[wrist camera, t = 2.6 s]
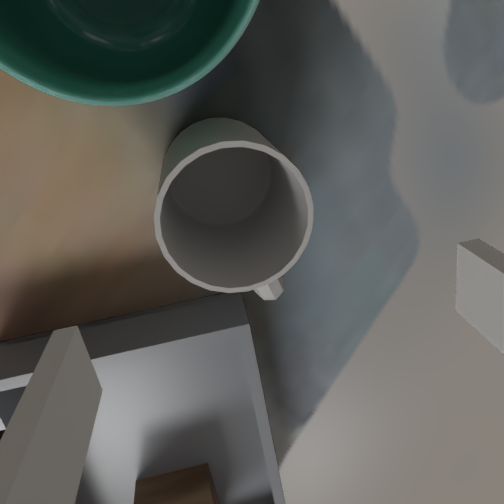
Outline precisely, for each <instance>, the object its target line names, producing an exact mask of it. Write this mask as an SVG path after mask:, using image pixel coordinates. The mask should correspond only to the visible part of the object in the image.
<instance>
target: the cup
mask: <svg viewBox="0 0 504 504" xmlns="http://www.w3.org/2000/svg"><path fill="white" fill-rule="evenodd" d="M313 210H314V206H313V202H312V198H311V194H310V190H309V187H308V185H307V183H306V181H305V180H304V178H303V176H302V174H301V173H300V171H299V170H298V169H297V168H296V167H295V166H294V165H293V164H292V163H291V162H290V161H289V160H288V159H287V158H286V157H285V156H284V155H283V154H282V153H281V152H280V151H279V150H278V149H277V148H276V147H274V146H273V145H272V144H271V143H270V142H269V141H268V140H267V139H266V138H265V137H264V136H262V135H261V134H260V133H259V132H258V131H257V130H256V129H254V128H252V127H251V126H249V125H247V124H245V123H243V122H241V121H238V120H234V119H229V118H225V117H223V118H208V119H205V120H202V121H199V122H196V123H193V124H192V125H190V126H189V127H187V128H186V129H184V130H183V131H181V132H180V134H179V135H178V136H177V137H176V138H175V139H174V140H173V142H172V143H171V144H170V146H169V148H168V150H167V153H166V155H165V157H164V159H163V164H162V170H161V176H160V182H159V188H158V194H157V200H156V206H155V212H154V225H155V234H156V239H157V241H158V244H159V246H160V249H161V251H162V253H163V256H164V257H165V258H166V260H167V261H168V262H169V263H170V265H171V266H172V267H173V269H174V270H175V271H176V272H177V273H179V274H180V275H181V276H183V277H184V278H185V279H187V280H188V281H189V282H191V283H193V284H195V285H198V286H200V287H203V288H205V289H208V290H211V291H218V292H225V293H235V292H246V291H251V290H254V291H255V292H256V293H257V294H258V295H259V296H260V297H261V298H262V299H263V300H276V299H277V298H278V297H279V296H280V295H281V293H282V292H283V291H284V289H283V278H282V275H284V274H285V273H286V272H287V271H288V270H289V269H290V268H291V267H292V266H293V265H294V264H295V263H296V262H297V261H298V259H299V257H300V256H301V254H302V253H303V251H304V249H305V248H306V246H307V244H308V241H309V237H310V234H311V231H312V228H313Z"/></svg>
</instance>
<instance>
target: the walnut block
mask: <svg viewBox="0 0 504 504" xmlns="http://www.w3.org/2000/svg"><path fill="white" fill-rule="evenodd" d="M133 504H220V503H219V499H218V496H217V493H216V489H215V486H214V482H213V479H212V475H211V472H210V469H209V465H208V463H206V464H202V465H197V466H193V467H189V468H185V469H181V470H177V471H173V472H169V473H165V474H161V475H157V476H153V477H149V478H145V479H141V480H136V484H135V494H134V503H133Z"/></svg>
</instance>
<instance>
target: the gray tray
mask: <svg viewBox="0 0 504 504" xmlns="http://www.w3.org/2000/svg"><path fill="white" fill-rule="evenodd" d="M77 326H78V328H79V331H80V334H81V336H82V339H83V341H84V344H85V346H86V349H87V351H88V354H89V357H90V359H91V362H92V364H93V367H94V369H95V372H96V374H97V377H98V380H99V382H100V385H101V387H102V390H103V391H102V395H101V399H100V403H99V407H98V411H97V415H96V419H95V423H94V427H93V431H92V435H91V439H90V443H89V447H88V451H87V455H86V460H85V464H84V468H83V472H82V476H81V480H80V484H79V488H78V492H77V496H76V500H75V504H133V503H134V494H135V484H136V480H141V479H145V478H149V477H153V476H157V475H161V474H165V473H169V472H173V471H177V470H181V469H185V468H189V467H193V466H197V465H202V464H206V463H208V465H209V469H210V472H211V475H212V479H213V482H214V486H215V489H216V493H217V496H218V499H219V503H220V504H285V500H284V495H283V490H282V485H281V480H280V475H279V470H278V465H277V460H276V455H275V450H274V445H273V440H272V435H271V430H270V425H269V420H268V415H267V410H266V405H265V400H264V395H263V390H262V385H261V380H260V375H259V370H258V365H257V360H256V355H255V350H254V345H253V340H252V335H251V330H250V325H249V321H248V317H247V313H246V309H245V305H244V302H243V298H242V294H241V292H235V293H222V294H218V295H213V296H209V297H204V298H199V299H195V300H190V301H186V302H181V303H177V304H172V305H168V306H163V307H159V308H154V309H149V310H145V311H140V312H136V313H131V314H127V315H122V316H118V317H113V318H109V319H104V320H99V321H95V322H90V323H86V324H81V325H77ZM52 333H53V331H49V332H45V333H40V334H36V335H31V336H27V337H22V338H18V339H13V340H9V341H4V342H0V431H1V430H6V428H7V426H8V424H9V422H10V419H11V417H12V415H13V413H14V411H15V409H16V407H17V405H18V403H19V401H20V399H21V397H22V395H23V393H24V391H25V389H26V387H27V384H28V382H29V380H30V378H31V376H32V374H33V372H34V370H35V368H36V366H37V364H38V362H39V360H40V358H41V356H42V354H43V352H44V350H45V347H46V345H47V343H48V341H49V339H50V337H51V335H52Z"/></svg>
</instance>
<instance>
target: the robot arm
mask: <svg viewBox="0 0 504 504" xmlns="http://www.w3.org/2000/svg"><path fill="white" fill-rule="evenodd" d="M456 311H457V312H458V313H459V314H460V315H461V316H462V317H463V318H464V319H466V320H467V321H468V322H469V323H470V324H471V325H472V326H473V327H474V328H475V329H476V330H478V331H479V332H480V333H481V334H482V335H483V336H484V337H485V338H486V339H487V340H489V341H490V342H491V343H492V344H493V345H494V346H495V347H496V348H497V349H499V351H501V352H502V353H503V354H504V254H503V253H502V252H500V251H498V250H497V249H495V248H493V247H492V246H490V245H488V244H487V243H485V242H483V241H482V240H480V239H474V240H469V241H466V242H460V243H458V245H457V277H456ZM102 391H103V390H102V387H101V385H100V382H99V380H98V377H97V374H96V372H95V369H94V367H93V364H92V362H91V359H90V357H89V354H88V351H87V349H86V346H85V344H84V341H83V339H82V336H81V334H80V331H79V328H78V326H72V327H67V328H63V329H58V330H54V331H53V333H52V335H51V337H50V339H49V341H48V343H47V345H46V347H45V350H44V352H43V354H42V356H41V358H40V360H39V362H38V364H37V366H36V368H35V370H34V372H33V374H32V376H31V378H30V380H29V382H28V384H27V387H26V389H25V391H24V393H23V395H22V397H21V399H20V401H19V403H18V405H17V407H16V409H15V411H14V413H13V415H12V417H11V419H10V422H9V424H8V426H7V428H6V430H1V431H0V504H75V500H76V496H77V492H78V488H79V484H80V480H81V476H82V472H83V468H84V464H85V460H86V455H87V451H88V447H89V443H90V439H91V435H92V431H93V427H94V423H95V419H96V415H97V411H98V407H99V403H100V399H101V395H102Z"/></svg>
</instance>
